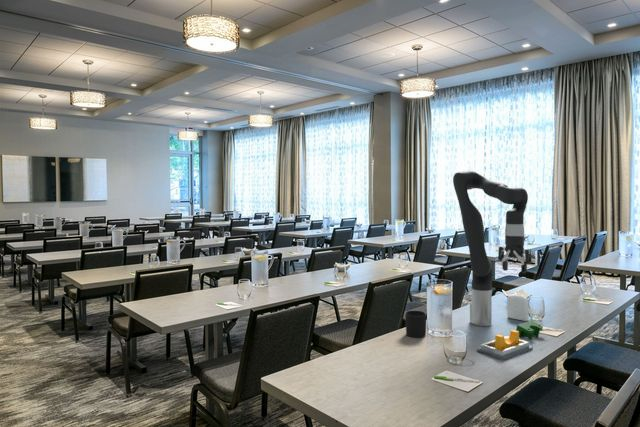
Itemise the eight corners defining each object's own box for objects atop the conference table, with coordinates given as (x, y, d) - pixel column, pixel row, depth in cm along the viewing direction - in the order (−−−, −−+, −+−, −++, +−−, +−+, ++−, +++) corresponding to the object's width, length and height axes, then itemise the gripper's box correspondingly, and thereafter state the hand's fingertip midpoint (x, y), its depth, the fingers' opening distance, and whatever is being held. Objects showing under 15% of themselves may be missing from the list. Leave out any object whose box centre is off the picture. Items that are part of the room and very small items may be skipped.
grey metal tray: (477, 351, 186) (477, 344, 186) (506, 341, 197) (506, 334, 197) (503, 360, 176) (503, 352, 176) (532, 349, 187) (532, 342, 187)
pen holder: (430, 334, 209) (430, 312, 208) (419, 339, 202) (419, 317, 201) (412, 330, 215) (412, 309, 215) (401, 335, 208) (401, 313, 208)
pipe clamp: (509, 343, 191) (509, 328, 191) (518, 346, 188) (519, 331, 187) (491, 349, 185) (491, 334, 184) (500, 352, 181) (501, 336, 181)
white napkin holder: (505, 317, 233) (506, 293, 233) (510, 316, 236) (510, 292, 235) (525, 322, 225) (525, 297, 225) (529, 320, 228) (530, 295, 227)
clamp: (527, 349, 200) (527, 333, 196) (515, 342, 205) (514, 326, 201) (544, 334, 205) (544, 319, 201) (532, 328, 210) (531, 313, 206)
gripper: (494, 233, 200) (494, 270, 201) (525, 236, 188) (524, 275, 189) (505, 232, 204) (504, 268, 205) (535, 235, 192) (535, 273, 193)
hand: (514, 271), depth 197 cm, fingers open, 8 cm apart
